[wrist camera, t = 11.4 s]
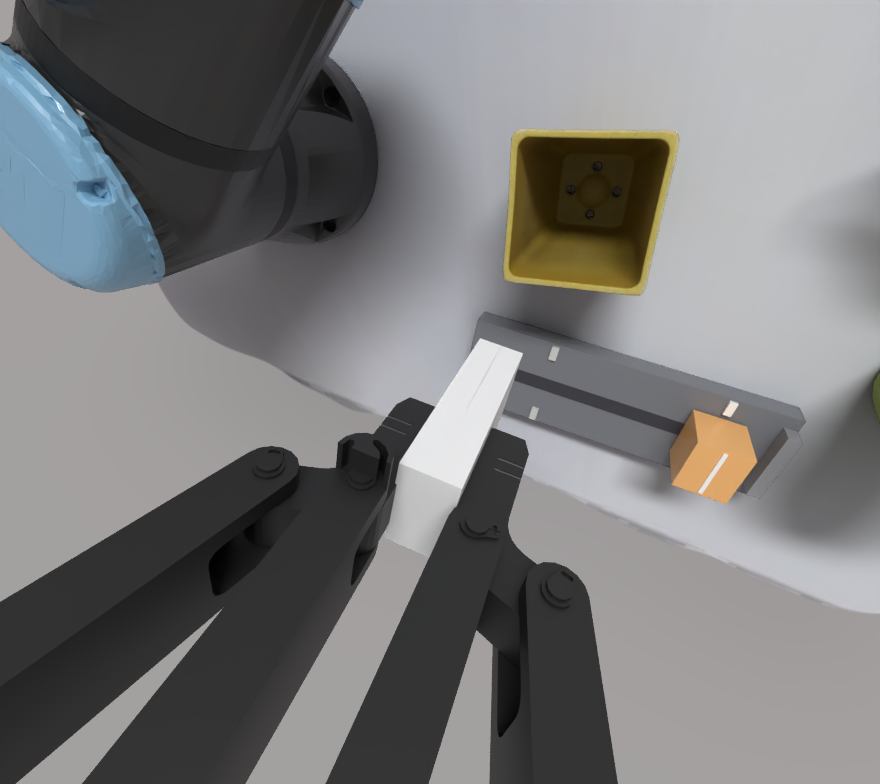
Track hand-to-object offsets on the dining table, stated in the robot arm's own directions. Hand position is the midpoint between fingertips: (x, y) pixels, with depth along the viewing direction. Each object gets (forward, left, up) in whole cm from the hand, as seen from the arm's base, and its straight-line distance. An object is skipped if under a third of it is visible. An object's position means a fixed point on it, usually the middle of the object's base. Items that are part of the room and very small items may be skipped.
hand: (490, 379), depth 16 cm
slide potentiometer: (+7, -13, -25) cm, 29 cm away
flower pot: (0, +3, -25) cm, 25 cm away
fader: (+15, -13, -23) cm, 30 cm away
